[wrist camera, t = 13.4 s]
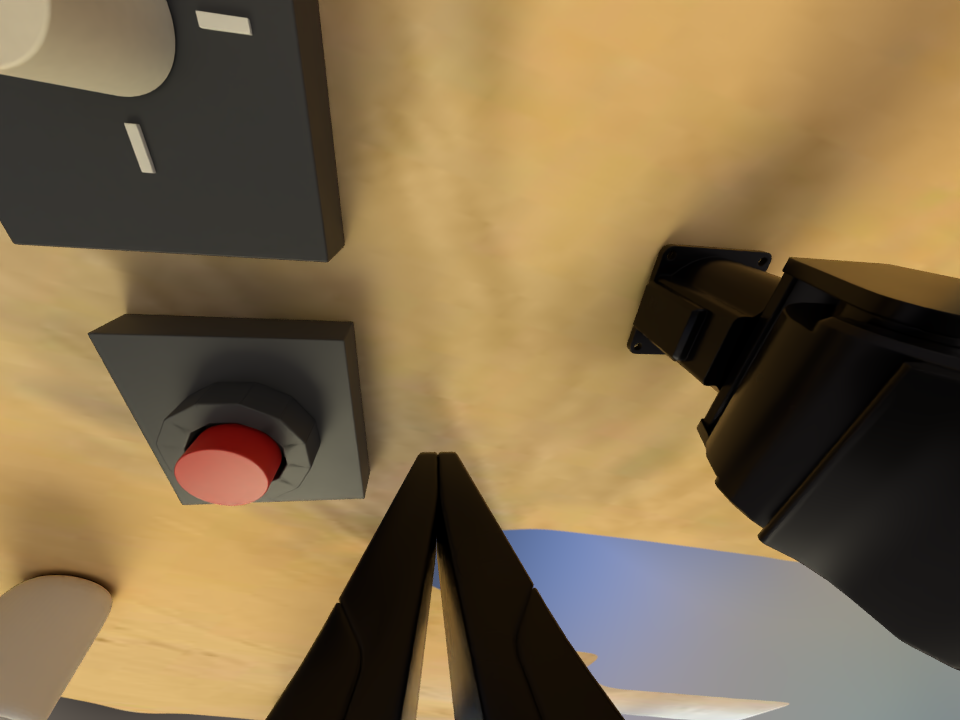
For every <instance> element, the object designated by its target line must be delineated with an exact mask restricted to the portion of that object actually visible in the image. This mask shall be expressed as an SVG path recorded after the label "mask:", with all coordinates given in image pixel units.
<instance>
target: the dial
mask: <svg viewBox="0 0 960 720" xmlns="http://www.w3.org/2000/svg"><path fill="white" fill-rule="evenodd" d="M174 55H175V33H174V26H173V21H172V17H171V13H170V10H169V7H168V4H167V1H166V0H0V74H3V75H8V76H13V77H19V78H24V79H30V80H35V81H40V82H46V83H51V84H57V85H62V86H67V87H73V88H78V89H84V90H89V91H94V92H100V93H105V94H110V95H116V96H124V97H133V96H140V95H144V94H147V93H149V92H151V91H153V90H155V89H156V88H157V87H159V86H160V85H161V84H162V83H163V82H164V80H165V79H166V78H167V76H168V74H169V72H170V70H171V68H172V65H173V61H174Z"/></svg>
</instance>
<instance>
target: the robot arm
mask: <svg viewBox="0 0 960 720" xmlns="http://www.w3.org/2000/svg"><path fill="white" fill-rule="evenodd" d="M671 251H672V255H671V256H670V257H669V258H667V255H668V253H669V252H671ZM760 259H761V261H760V262H759V263H758V261H759V260H760ZM771 259H772V256H771V254H770V253H767V252H764V251H757V250H743V249H730V248H717V247H703V246H690V245H676V244H668V245H666V246H664V247H663V248H662V249H661V250H660V252H659V254H658V257H657V260H656V263H655V266H654V269H653V272H652V274H651V277H650V280H649V283H648V284H647V286H646V289H645V291H644V294H643V297H642V300H641V303H640V306H639V309H638V312H637V314H636V317H635V320H634V323H633V325H634V326H633V329H632V332H631V334H630V337H629V340H628V343H627V348H628V349H629V350H630V351H631V352H632V353H634V354H666V355H667V356H668V357H669V358H671V359H672V360H673V361H677V362H678V363H679V364H680V365H681V366H683V367H684V368H685V369H686V370H687V371H688V372H689V373H691V374H692V375H693V376H694V377H695V378H696V379H698V380H699V381H700V382H701V383H702V384H703V385H706V386H711V387H712V388H713V389H714V390H716V391H717V392H718V394H717V396H716V398H715V400H714V402H713V404H712V405H711V407H710V409H709V411H708V413H707V414H706V416H705V418H704V419H701V421H700V422H699V424H698V426H697V430H698V432H699V434H700V437H701V439H702V441H703V443H704V445H705V447H706V457H707V459H708V460H709V462H710V464H711V466H712V468H713V470H714V472H715V474H716V476H717V478H716V479H715V484H716V486H717V487H718V489H719V490H720V491H721V492H722V493H723V494H724V496H725V497H726V498H727V499H728V500H729V501H730V502H731V503H732V504H733V505H734V506H735V507H736V508H737V509H739V510H740V511H741V512H742V513H743V514H744V515H746V516H747V517H748V518H749V519H750V520H752V521H753V522H755V523H756V524H758V525H759V526H761V527H762V528H763V529H762V530H761V532H760V533H759V534H758V538H759V540H760V541H761V542H762V543H764V544H765V545H767V546H769V547H771V548H773V549H775V550H777V551H779V552H781V553H783V554H785V555H787V556H789V557H791V558H793V559H795V560H797V561H799V562H800V563H802V564H803V565H805V566H806V567H808V568H809V569H811V570H812V571H814V572H815V573H817V574H818V575H820V576H822V577H823V578H825V579H826V580H828V581H829V582H830V583H832V584H833V585H834V586H835V587H836V588H838V589H839V590H840V591H842V592H843V593H844V594H845V595H847V596H848V597H849V598H851V599H852V600H853V601H854V602H855V603H856V604H858V605H859V606H860V607H861V608H863V609H864V610H865V611H866V612H867V613H868V614H870V615H871V616H872V617H873V618H874V619H875V620H877V621H878V622H879V623H880V624H881V625H883V626H884V627H885V628H886V629H887V630H889V631H890V632H891V633H892V634H893V635H895V636H896V637H897V638H898V639H900V640H901V641H903V642H904V643H906V644H908V645H910V646H912V647H913V648H915V649H917V650H919V651H921V652H923V653H925V654H927V655H929V656H931V657H933V658H935V659H937V660H938V661H940V662H942V663H944V664H946V665H948V666H950V667H952V668H954V669H957V670H960V279H958V278H953V277H949V276H944V275H939V274H934V273H929V272H924V271H919V270H915V269H910V268H905V267H900V266H895V265H890V264H880V263H866V262H852V261H838V260H825V259H811V258H797V257H789V259H788V261H787V263H786V264H785V266H784V268H783V270H782V271H783V272H784V274H783V276H782V278H781V277H778V276H775V275H773V274H770V273H767V272H766V270H767V268H768V266H769V264H770V262H771ZM637 343H639V344H638V346H636V347H634V346H635V345H636V344H637ZM436 537H437V560H438V570H439V579H440V589H441V598H442V607H443V616H444V625H445V635H446V644H447V653H448V662H449V671H450V680H451V689H452V699H453V708H454V717H455V720H625V719H624V718H623V717H622V715H621V714H620V712H619V711H618V710H617V708H616V707H615V705H614V704H613V703H612V701H611V700H610V699H609V697H608V696H607V694H606V693H605V692H604V690H603V689H602V688H601V686H600V685H599V683H598V682H597V681H596V679H595V678H594V677H593V675H592V674H591V672H590V671H589V670H588V668H587V667H586V665H585V664H584V662H583V661H582V659H581V658H580V657H579V655H578V654H577V652H576V651H575V650H574V648H573V646H572V645H571V644H570V642H569V641H568V639H567V638H566V636H565V635H564V633H563V631H562V630H561V628H560V627H559V625H558V623H557V622H556V620H555V619H554V617H553V615H552V614H551V612H550V611H549V609H548V607H547V606H546V604H545V602H544V601H543V599H542V597H541V595H540V594H539V592H538V590H537V589H536V588H533V582H532V581H531V579H530V577H529V576H528V574H527V572H526V570H525V569H524V567H523V565H522V563H521V562H520V560H519V558H518V557H517V555H516V553H515V552H514V550H513V548H512V546H511V545H510V543H509V542H508V540H507V538H506V536H505V535H504V533H503V531H502V529H501V528H500V526H499V524H498V523H497V521H496V519H495V518H494V516H493V514H492V512H491V511H490V509H489V507H488V506H487V504H486V502H485V501H484V499H483V497H482V495H481V494H480V492H479V490H478V489H477V487H476V485H475V484H474V482H473V480H472V478H471V477H470V475H469V473H468V472H467V470H466V468H465V467H464V465H463V463H462V461H461V460H460V458H459V456H458V455H457V454H456V453H455V452H440V453H439V454H437V453H436V452H422V453H420V454H419V455H418V456H417V458H416V460H415V462H414V464H413V466H412V467H411V469H410V471H409V473H408V475H407V476H406V478H405V480H404V482H403V484H402V485H401V487H400V489H399V491H398V493H397V494H396V496H395V498H394V500H393V502H392V504H391V505H390V507H389V509H388V511H387V513H386V514H385V516H384V518H383V520H382V522H381V523H380V525H379V527H378V529H377V531H376V533H375V534H374V536H373V538H372V540H371V542H370V543H369V545H368V547H367V549H366V551H365V552H364V554H363V556H362V558H361V560H360V561H359V563H358V565H357V567H356V569H355V571H354V572H353V574H352V576H351V578H350V580H349V581H348V583H347V585H346V587H345V589H344V590H343V592H342V594H341V596H340V598H339V602H340V603H336V605H335V606H334V608H333V610H332V612H331V613H330V615H329V617H328V619H327V621H326V623H325V624H324V626H323V628H322V630H321V631H320V633H319V635H318V636H317V638H316V640H315V642H314V643H313V645H312V647H311V648H310V650H309V652H308V654H307V655H306V657H305V659H304V660H303V662H302V664H301V665H300V667H299V669H298V670H297V672H296V673H295V675H294V676H293V678H292V679H291V681H290V683H289V684H288V686H287V687H286V689H285V690H284V692H283V693H282V695H281V697H280V698H279V700H278V701H277V703H276V704H275V706H274V707H273V709H272V711H271V712H270V714H269V715H268V716H267V718H266V719H265V720H416V715H417V707H418V699H419V690H420V682H421V674H422V666H423V657H424V649H425V641H426V632H427V624H428V616H429V608H430V599H431V591H432V582H433V574H434V566H435V555H436Z"/></svg>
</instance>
